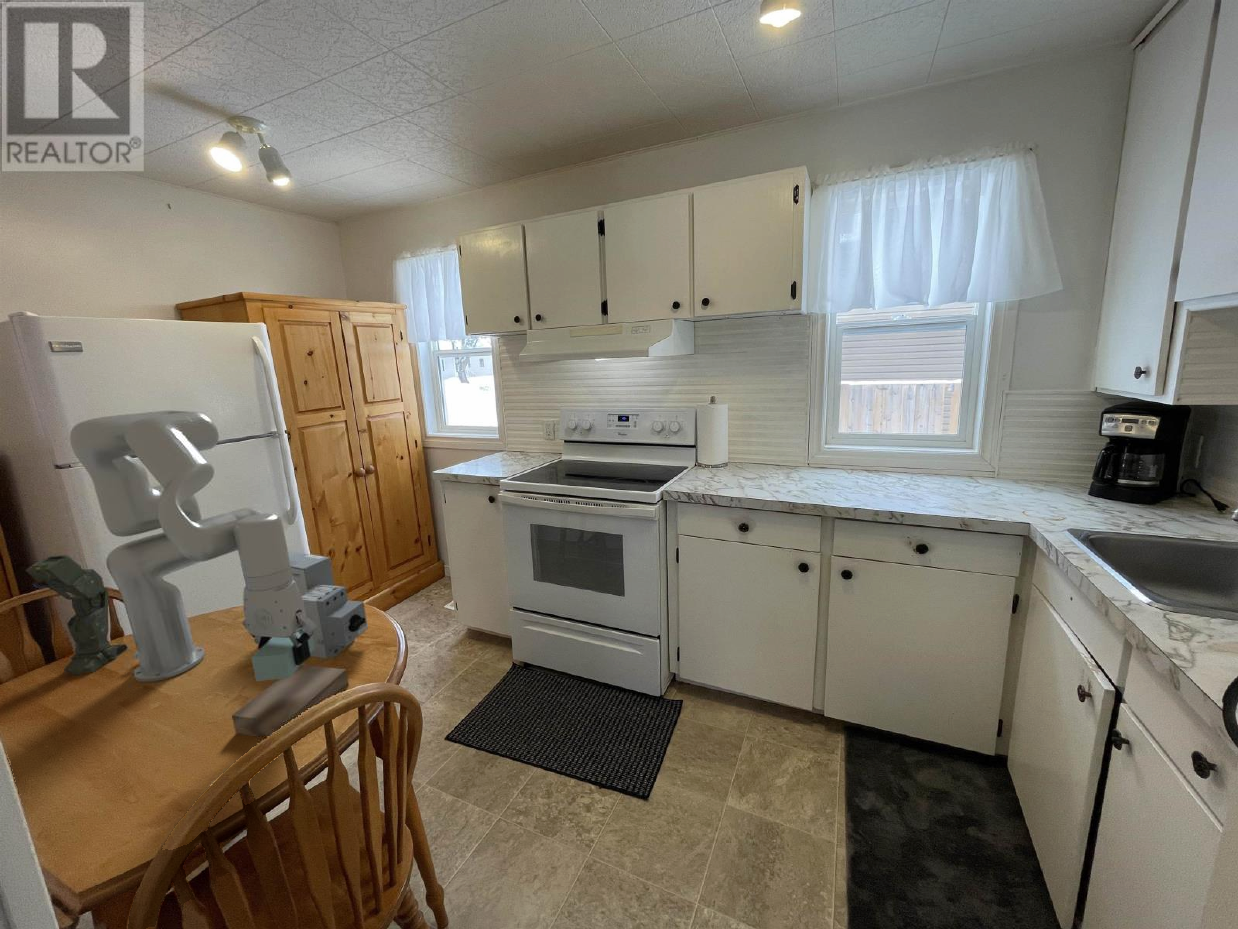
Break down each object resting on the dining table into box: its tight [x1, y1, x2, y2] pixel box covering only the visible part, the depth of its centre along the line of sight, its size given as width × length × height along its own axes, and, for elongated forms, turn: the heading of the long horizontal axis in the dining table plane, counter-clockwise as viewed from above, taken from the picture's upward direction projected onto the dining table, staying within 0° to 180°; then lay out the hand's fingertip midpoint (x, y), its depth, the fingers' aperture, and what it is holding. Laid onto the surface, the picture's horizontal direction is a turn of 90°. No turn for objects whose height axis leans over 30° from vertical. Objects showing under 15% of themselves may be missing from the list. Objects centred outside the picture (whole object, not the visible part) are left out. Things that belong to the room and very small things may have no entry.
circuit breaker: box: [301, 585, 369, 659], centre depth 122 cm, size 8×14×15 cm, turn 79°
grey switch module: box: [288, 551, 336, 594], centre depth 131 cm, size 16×8×20 cm, turn 68°
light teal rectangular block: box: [250, 632, 315, 682], centre depth 101 cm, size 10×6×5 cm, turn 6°
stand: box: [231, 664, 350, 738], centre depth 103 cm, size 12×16×4 cm
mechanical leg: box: [25, 554, 129, 676], centre depth 118 cm, size 14×7×30 cm, turn 5°
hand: (286, 659), depth 101 cm, fingers closed on light teal rectangular block, 7 cm apart
